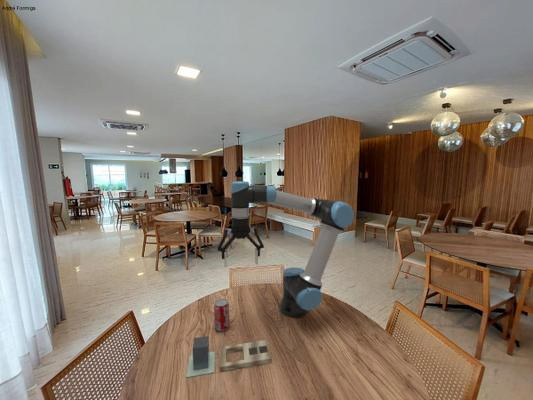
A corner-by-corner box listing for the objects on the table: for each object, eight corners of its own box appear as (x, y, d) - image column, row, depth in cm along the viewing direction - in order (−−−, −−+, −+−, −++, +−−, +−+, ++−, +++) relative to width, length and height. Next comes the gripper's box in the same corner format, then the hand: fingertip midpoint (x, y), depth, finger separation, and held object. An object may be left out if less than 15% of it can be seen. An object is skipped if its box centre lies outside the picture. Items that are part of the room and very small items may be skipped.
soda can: (226, 333, 102) (225, 307, 101) (212, 331, 104) (211, 305, 102) (231, 323, 109) (231, 299, 108) (218, 321, 110) (217, 297, 109)
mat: (215, 352, 91) (214, 351, 91) (214, 373, 81) (214, 372, 81) (190, 356, 89) (190, 355, 89) (186, 378, 79) (186, 377, 79)
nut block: (209, 356, 88) (208, 335, 87) (208, 368, 83) (207, 346, 82) (195, 358, 87) (194, 337, 86) (193, 370, 82) (192, 348, 81)
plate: (266, 344, 95) (266, 339, 95) (271, 362, 86) (271, 358, 85) (219, 351, 91) (219, 346, 91) (219, 372, 82) (219, 367, 81)
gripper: (267, 214, 100) (267, 259, 102) (211, 216, 95) (212, 263, 97) (270, 217, 93) (270, 265, 95) (210, 220, 88) (211, 270, 90)
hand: (241, 264), depth 96 cm, fingers open, 13 cm apart
